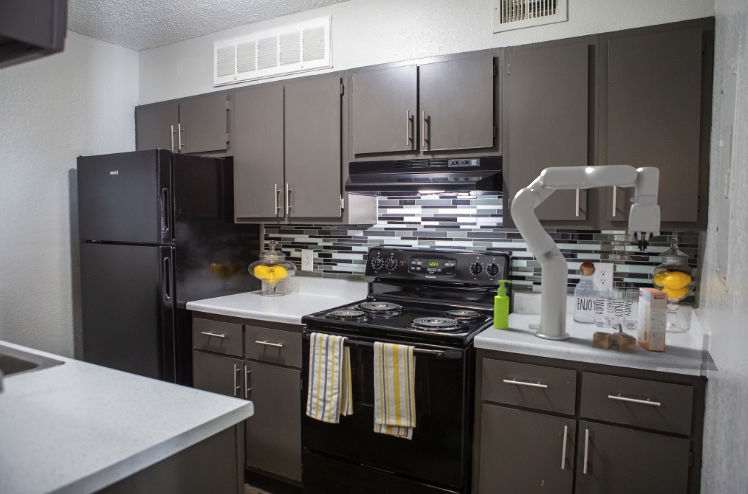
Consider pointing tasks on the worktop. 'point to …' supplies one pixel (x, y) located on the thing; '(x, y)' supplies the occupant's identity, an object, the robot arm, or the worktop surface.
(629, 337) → the marked cube
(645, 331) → the cracker box
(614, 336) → the garlic bulb
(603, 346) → the marked cube
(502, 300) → the soap dispenser
